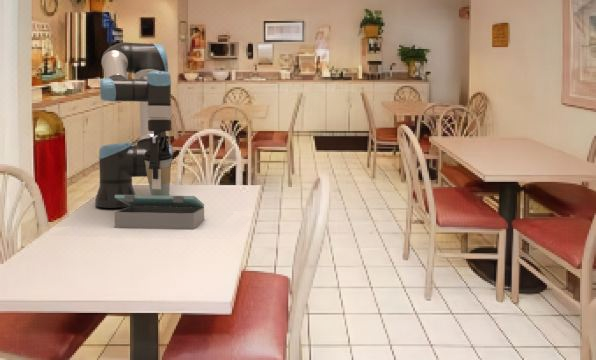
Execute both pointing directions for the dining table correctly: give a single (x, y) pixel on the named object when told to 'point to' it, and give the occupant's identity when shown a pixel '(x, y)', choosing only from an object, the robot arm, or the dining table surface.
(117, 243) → the dining table surface
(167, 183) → the coffee cup
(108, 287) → the dining table surface
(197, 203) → the cover
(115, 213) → the grey shallow open piece
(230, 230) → the dining table surface
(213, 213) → the dining table surface
